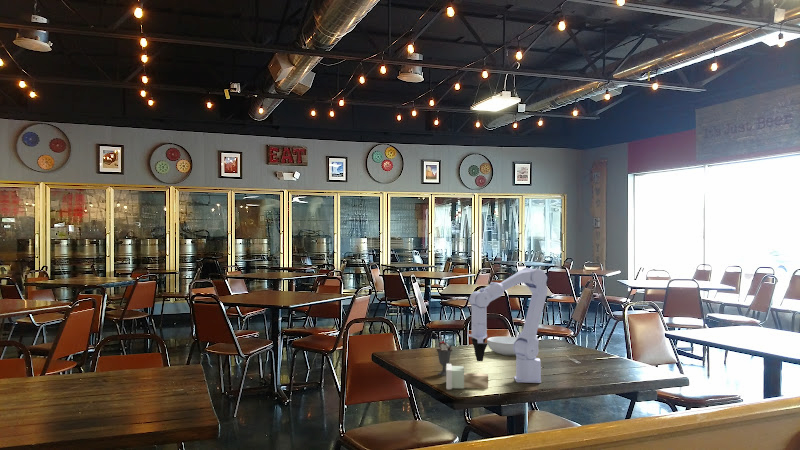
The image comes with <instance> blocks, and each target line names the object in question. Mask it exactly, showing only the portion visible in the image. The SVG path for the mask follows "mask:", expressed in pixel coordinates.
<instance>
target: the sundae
mask: <svg viewBox="0 0 800 450" xmlns="http://www.w3.org/2000/svg"><path fill="white" fill-rule="evenodd" d="M438 339H441V336H439V337H438ZM436 351H437V354H438V362H439V364H440V365H441V366H442V370H441V372H438V373H437V375H439V376H446V367H447V364H450V359H451V353H452V352H453V349H452V344H451V345H449V343H447V342H445V341H444V340H443V339H441V341H440V342H439V345H438V346H437V348H436Z"/></svg>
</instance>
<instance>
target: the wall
mask: <svg viewBox="0 0 800 450" xmlns="http://www.w3.org/2000/svg"><path fill="white" fill-rule="evenodd" d="M452 366H453V365H452V363H448V364H447V365H446V375H445V376H446V385H445V388H446V390H453V388H452Z"/></svg>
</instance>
